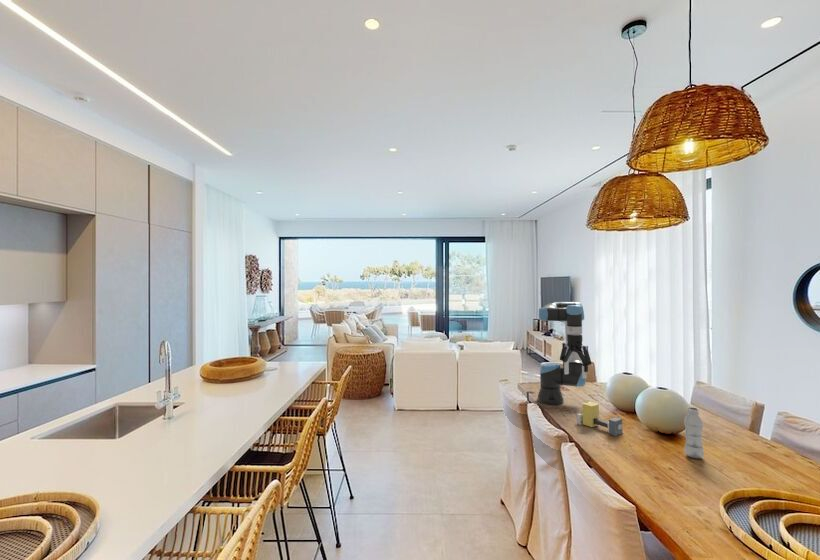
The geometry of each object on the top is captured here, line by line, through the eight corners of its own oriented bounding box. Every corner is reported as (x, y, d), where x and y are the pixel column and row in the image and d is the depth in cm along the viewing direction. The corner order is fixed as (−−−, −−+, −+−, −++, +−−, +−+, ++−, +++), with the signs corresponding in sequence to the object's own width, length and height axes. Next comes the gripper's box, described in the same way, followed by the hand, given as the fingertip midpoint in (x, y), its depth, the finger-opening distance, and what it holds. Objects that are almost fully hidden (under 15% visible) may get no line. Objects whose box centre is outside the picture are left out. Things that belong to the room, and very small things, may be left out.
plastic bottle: (700, 454, 160) (699, 407, 160) (706, 461, 154) (705, 412, 154) (682, 452, 162) (681, 405, 162) (688, 459, 156) (686, 410, 156)
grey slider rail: (585, 421, 201) (585, 407, 201) (624, 433, 183) (624, 419, 183) (577, 423, 197) (576, 410, 197) (616, 437, 180) (615, 422, 180)
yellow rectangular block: (590, 421, 198) (589, 401, 198) (599, 424, 194) (598, 404, 194) (582, 424, 195) (582, 403, 195) (591, 427, 191) (591, 406, 191)
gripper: (552, 332, 210) (552, 372, 210) (589, 337, 191) (590, 381, 190) (560, 331, 214) (561, 371, 214) (598, 335, 195) (599, 379, 194)
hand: (575, 376), depth 202 cm, fingers open, 10 cm apart
